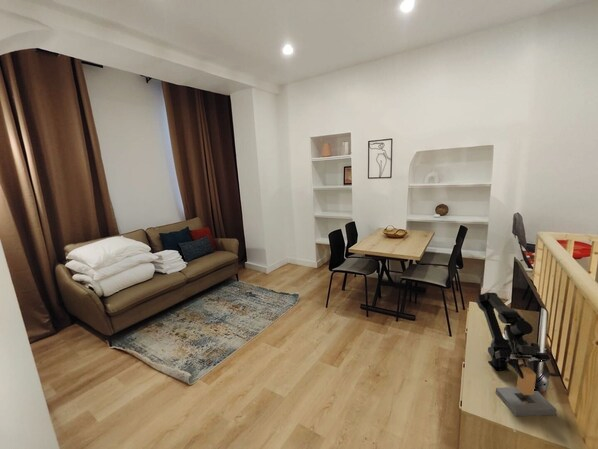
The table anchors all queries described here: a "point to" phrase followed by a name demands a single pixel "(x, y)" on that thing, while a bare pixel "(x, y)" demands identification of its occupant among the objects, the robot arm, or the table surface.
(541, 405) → the jig plate
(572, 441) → the table surface
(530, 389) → the orange bar
